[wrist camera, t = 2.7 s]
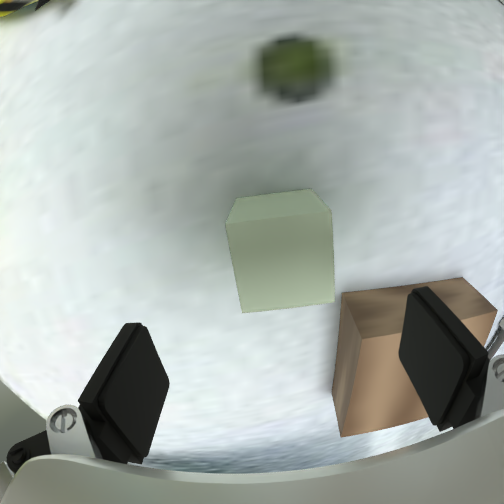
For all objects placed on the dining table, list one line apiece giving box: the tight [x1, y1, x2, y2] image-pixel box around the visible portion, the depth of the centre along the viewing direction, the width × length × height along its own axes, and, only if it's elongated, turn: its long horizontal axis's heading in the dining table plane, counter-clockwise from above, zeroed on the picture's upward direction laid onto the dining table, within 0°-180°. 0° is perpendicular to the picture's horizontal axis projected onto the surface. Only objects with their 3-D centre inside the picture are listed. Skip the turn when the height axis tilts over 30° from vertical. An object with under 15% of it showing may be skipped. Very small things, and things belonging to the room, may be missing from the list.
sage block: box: [225, 189, 335, 313], centre depth 17 cm, size 5×5×6 cm
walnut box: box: [332, 277, 498, 437], centre depth 21 cm, size 12×12×6 cm
